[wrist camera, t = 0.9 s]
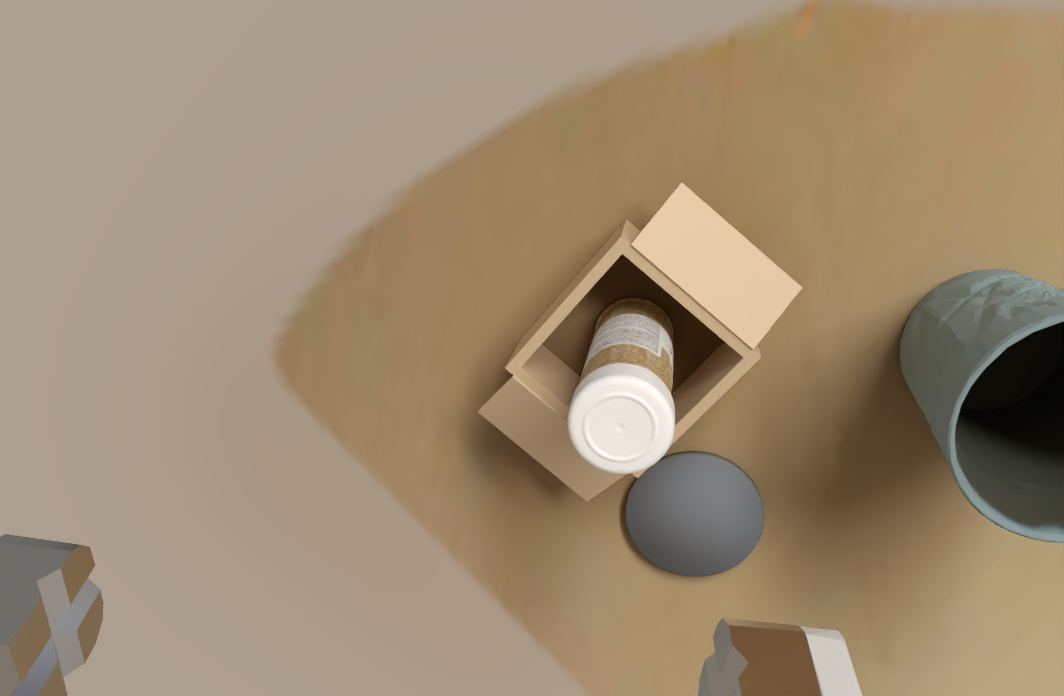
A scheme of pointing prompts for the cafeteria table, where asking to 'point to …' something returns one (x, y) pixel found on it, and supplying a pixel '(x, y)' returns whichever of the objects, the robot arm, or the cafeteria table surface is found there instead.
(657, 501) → the coaster
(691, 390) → the carton
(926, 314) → the teal cup
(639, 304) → the sprinkles bottle
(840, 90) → the cafeteria table surface
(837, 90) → the cafeteria table surface
